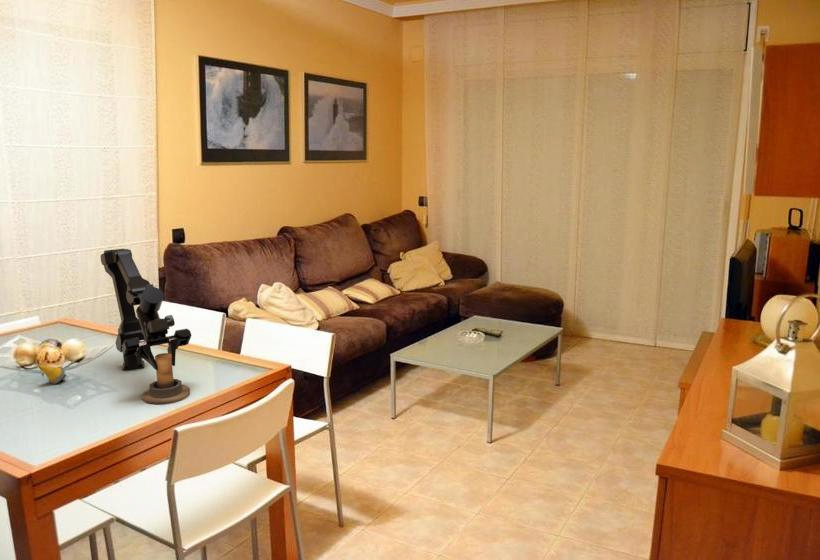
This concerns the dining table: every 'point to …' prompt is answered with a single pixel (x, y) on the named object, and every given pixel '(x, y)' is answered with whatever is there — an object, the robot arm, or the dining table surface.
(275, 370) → the dining table surface
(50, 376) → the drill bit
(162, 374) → the handle
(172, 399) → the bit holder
